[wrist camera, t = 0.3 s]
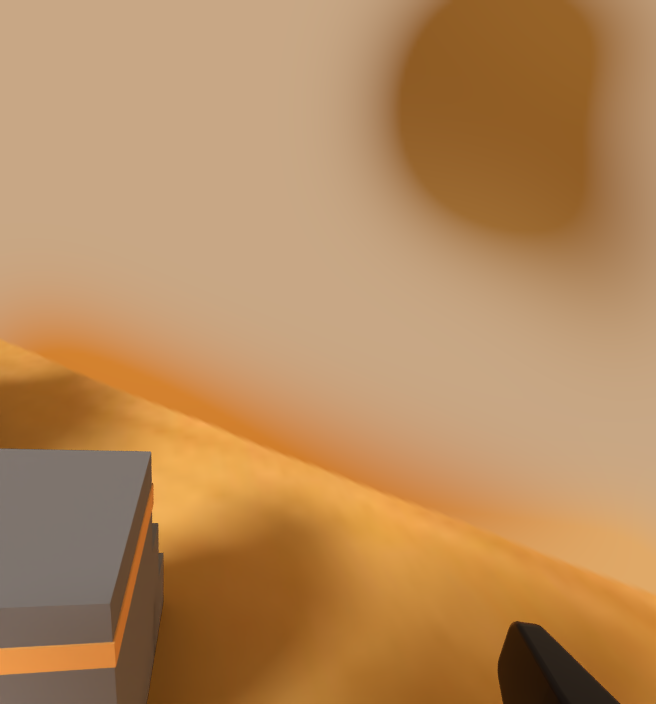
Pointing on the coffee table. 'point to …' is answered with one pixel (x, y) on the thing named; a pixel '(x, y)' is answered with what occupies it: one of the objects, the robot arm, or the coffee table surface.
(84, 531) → the grey box
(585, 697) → the robot arm
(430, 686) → the coffee table surface
